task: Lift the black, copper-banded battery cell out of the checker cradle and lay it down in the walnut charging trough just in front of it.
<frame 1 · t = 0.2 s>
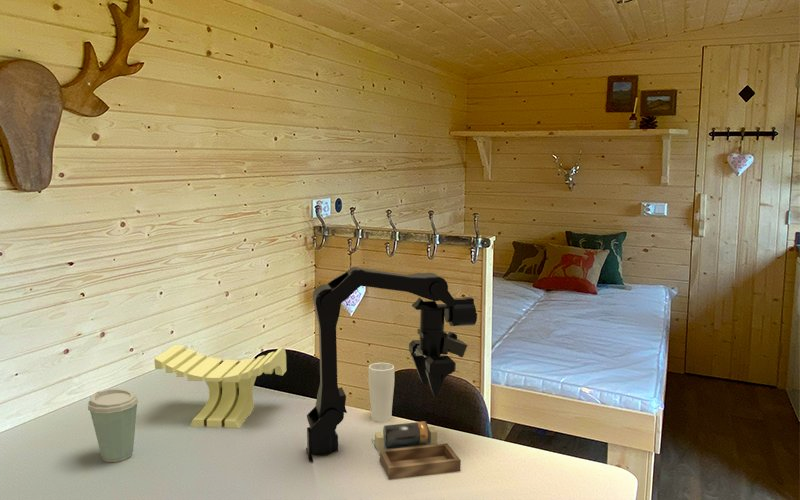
hand: (430, 390, 157), 13 cm above the table, fingers open, 9 cm apart
disposable coffee cup: (116, 457, 151), on the table
slatted curved stool: (224, 416, 176), on the table
checker cradle: (405, 448, 156), on the table
charging trough: (419, 470, 145), on the table
battery cell: (405, 444, 156), point 1 cm above the table, touching checker cradle
drinking glass: (381, 422, 173), on the table
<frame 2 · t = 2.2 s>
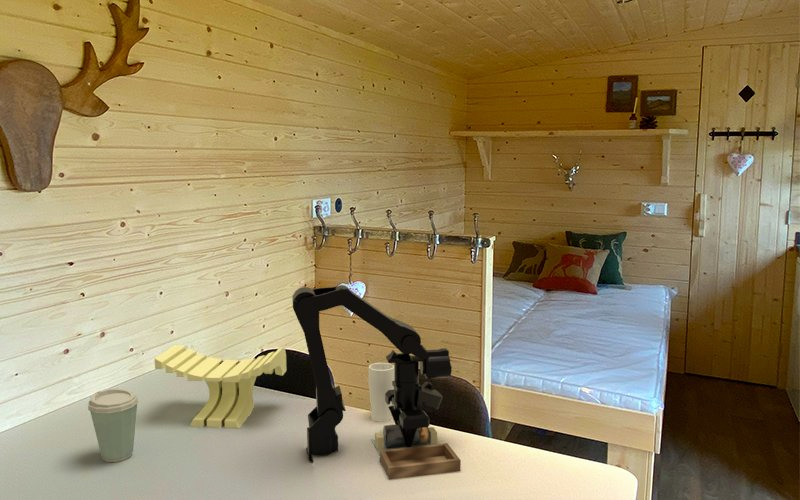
hand: (405, 442, 156), 2 cm above the table, fingers closed on battery cell, 5 cm apart
battery cell: (405, 444, 156), point 1 cm above the table, touching checker cradle, gripper
everything else where it was.
when the fingers open (4 cm above the table, at t = 6.2 s): battery cell drops 3 cm, resting on charging trough.
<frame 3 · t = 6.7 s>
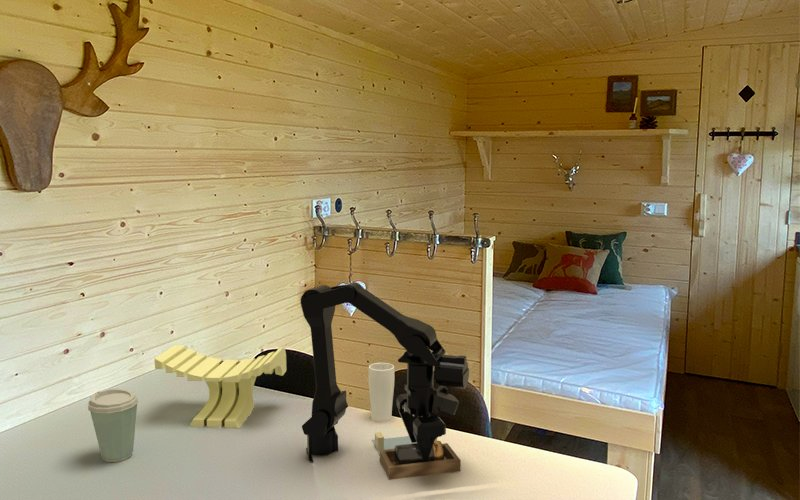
hand: (419, 450, 145), 4 cm above the table, fingers open, 9 cm apart
battery cell: (419, 465, 145), point 1 cm above the table, touching charging trough
everything else where it was.
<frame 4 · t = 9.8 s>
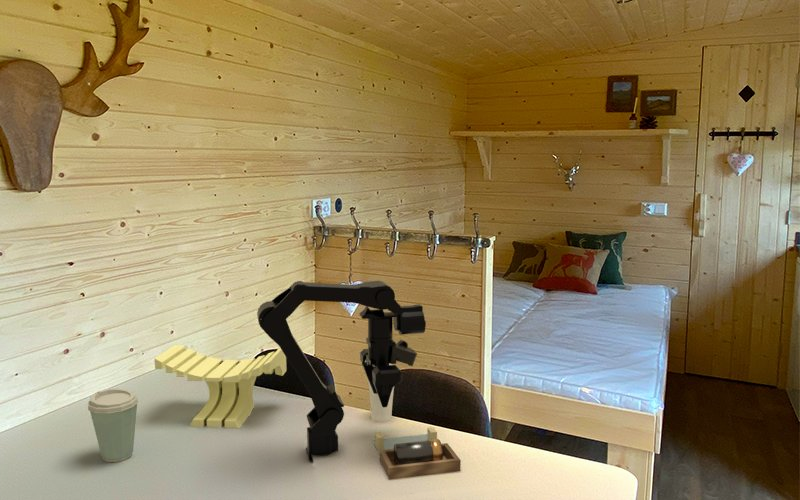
hand: (380, 400, 155), 12 cm above the table, fingers open, 9 cm apart
battery cell: (419, 464, 145), point 1 cm above the table, tilted 22°, touching charging trough
everything else where it was.
at the end: battery cell 0.1 cm off-centre on the charging trough, point 1.2 cm above the charging trough's base; the gripper is holding nothing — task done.
